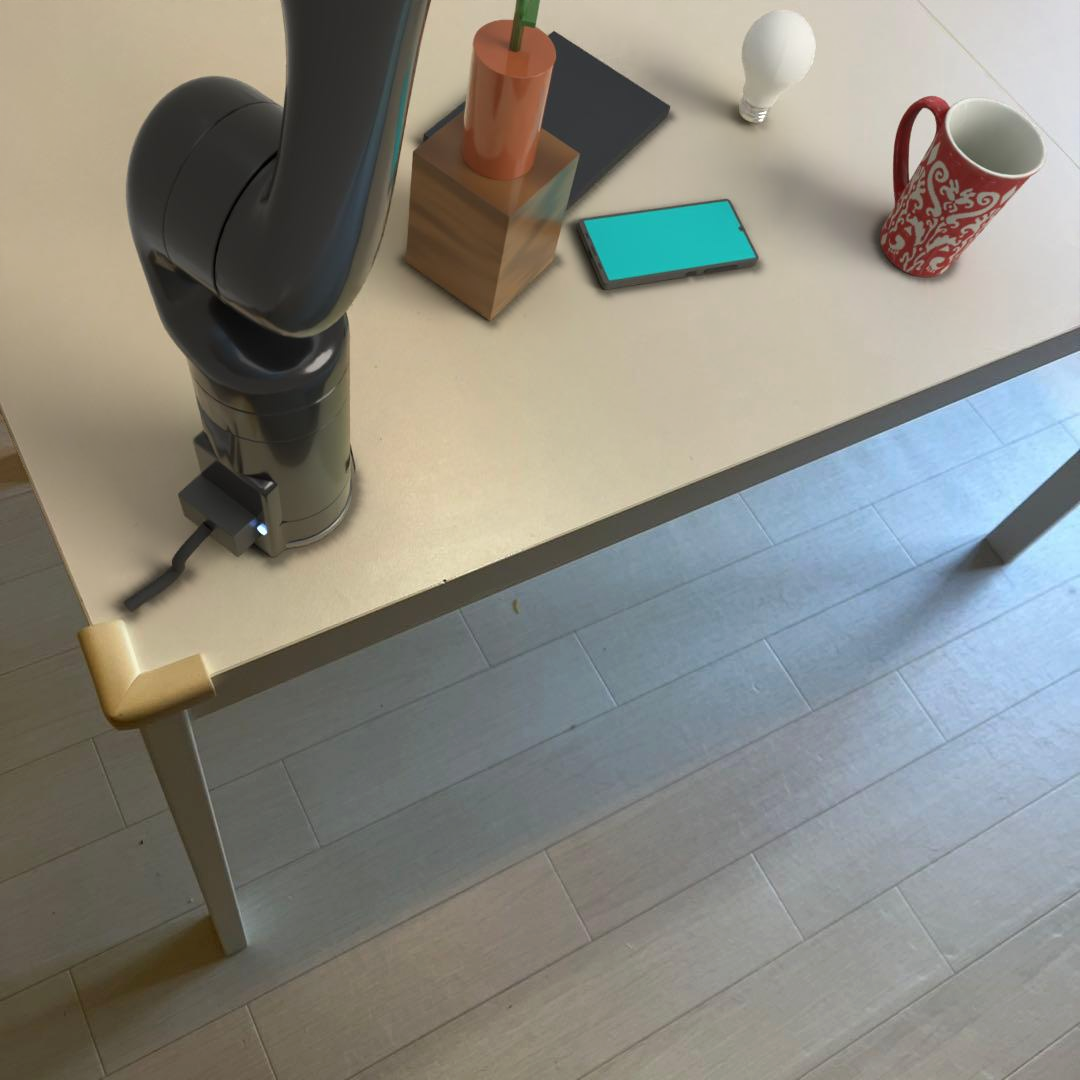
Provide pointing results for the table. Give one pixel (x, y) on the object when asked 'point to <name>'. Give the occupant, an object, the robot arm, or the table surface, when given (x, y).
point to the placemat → (591, 113)
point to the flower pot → (507, 94)
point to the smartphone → (666, 243)
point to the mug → (956, 180)
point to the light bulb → (774, 60)
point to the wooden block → (485, 219)
